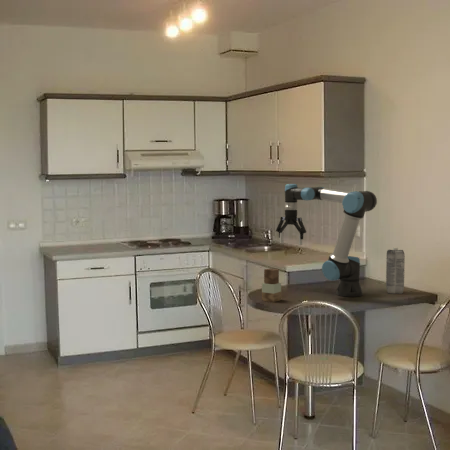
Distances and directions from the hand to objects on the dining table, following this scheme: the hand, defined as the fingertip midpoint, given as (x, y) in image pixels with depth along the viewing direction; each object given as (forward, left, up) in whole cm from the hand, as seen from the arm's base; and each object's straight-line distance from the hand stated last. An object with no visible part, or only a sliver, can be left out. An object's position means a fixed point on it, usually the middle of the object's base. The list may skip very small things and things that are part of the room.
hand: (290, 243), depth 437 cm
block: (-8, +33, -19) cm, 39 cm away
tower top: (-8, +33, -24) cm, 42 cm away
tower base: (-8, +33, -29) cm, 45 cm away
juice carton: (-55, -30, -29) cm, 69 cm away
